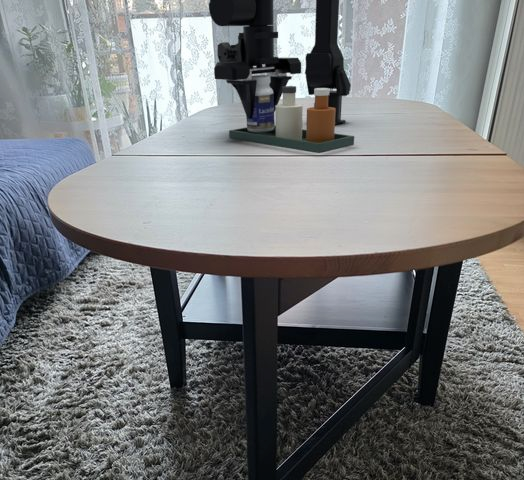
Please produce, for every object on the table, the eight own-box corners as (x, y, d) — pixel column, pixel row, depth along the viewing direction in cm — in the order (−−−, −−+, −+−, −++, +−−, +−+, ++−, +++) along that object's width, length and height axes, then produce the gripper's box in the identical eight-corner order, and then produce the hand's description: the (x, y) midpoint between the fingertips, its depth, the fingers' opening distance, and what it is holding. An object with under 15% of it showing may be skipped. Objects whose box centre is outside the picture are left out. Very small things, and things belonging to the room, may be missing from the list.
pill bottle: (263, 134, 101) (260, 77, 96) (241, 132, 104) (237, 77, 99) (280, 128, 105) (278, 74, 99) (258, 127, 108) (255, 74, 102)
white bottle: (288, 137, 103) (288, 85, 98) (307, 140, 100) (308, 86, 95) (270, 141, 100) (269, 87, 95) (289, 144, 97) (289, 88, 92)
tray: (264, 134, 111) (264, 124, 110) (353, 147, 96) (354, 136, 95) (229, 141, 105) (228, 130, 104) (318, 156, 90) (319, 143, 89)
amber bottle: (318, 142, 98) (320, 86, 93) (339, 145, 95) (342, 88, 90) (300, 146, 95) (301, 89, 90) (321, 149, 92) (323, 90, 87)
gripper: (263, 26, 105) (265, 108, 114) (192, 27, 94) (199, 119, 103) (303, 24, 98) (302, 112, 107) (231, 26, 87) (236, 124, 96)
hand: (260, 116), depth 103 cm, fingers closed on pill bottle, 6 cm apart
